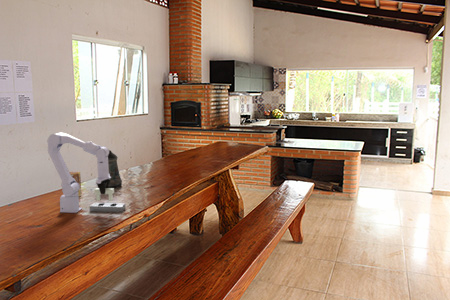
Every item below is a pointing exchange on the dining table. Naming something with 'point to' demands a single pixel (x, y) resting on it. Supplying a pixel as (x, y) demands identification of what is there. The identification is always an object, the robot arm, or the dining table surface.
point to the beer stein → (113, 171)
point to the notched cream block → (107, 191)
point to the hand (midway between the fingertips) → (104, 193)
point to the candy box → (77, 179)
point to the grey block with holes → (107, 207)
